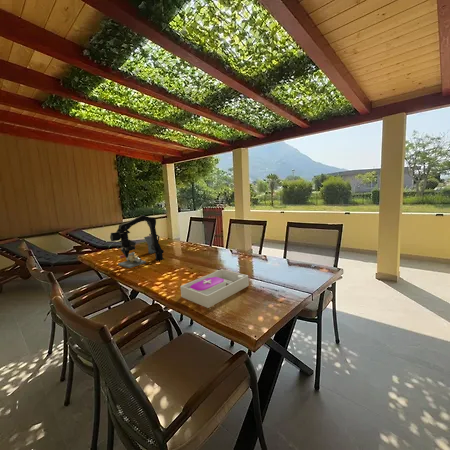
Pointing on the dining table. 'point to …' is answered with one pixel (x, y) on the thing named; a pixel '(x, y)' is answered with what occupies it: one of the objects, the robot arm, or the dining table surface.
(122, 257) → the valve lever
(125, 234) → the robot arm
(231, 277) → the white tray with pad
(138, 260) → the valve body
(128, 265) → the valve board
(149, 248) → the moka pot
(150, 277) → the dining table surface
